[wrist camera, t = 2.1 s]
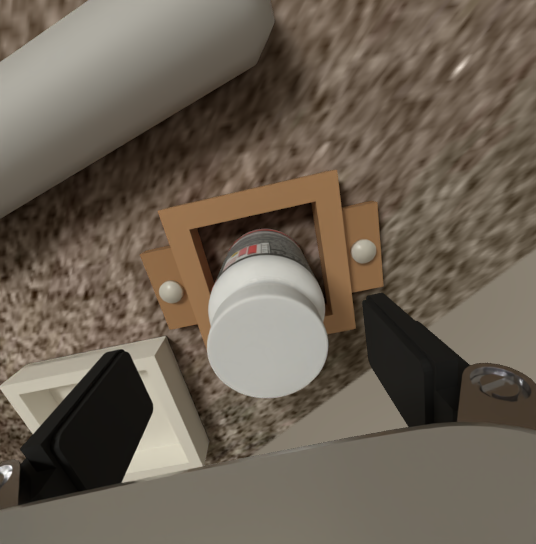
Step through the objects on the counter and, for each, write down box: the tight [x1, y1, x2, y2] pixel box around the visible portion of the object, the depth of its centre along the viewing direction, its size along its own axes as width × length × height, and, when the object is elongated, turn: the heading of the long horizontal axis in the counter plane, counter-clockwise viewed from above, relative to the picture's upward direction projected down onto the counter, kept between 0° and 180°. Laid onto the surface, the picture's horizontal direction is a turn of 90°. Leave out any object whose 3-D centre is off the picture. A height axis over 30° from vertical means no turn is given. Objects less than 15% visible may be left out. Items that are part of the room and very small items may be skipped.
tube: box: [0, 0, 275, 219], centre depth 14 cm, size 5×5×25 cm
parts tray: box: [0, 336, 209, 483], centre depth 22 cm, size 12×12×2 cm
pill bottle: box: [207, 229, 328, 398], centre depth 15 cm, size 6×6×10 cm
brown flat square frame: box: [140, 170, 383, 349], centre depth 18 cm, size 16×11×2 cm
